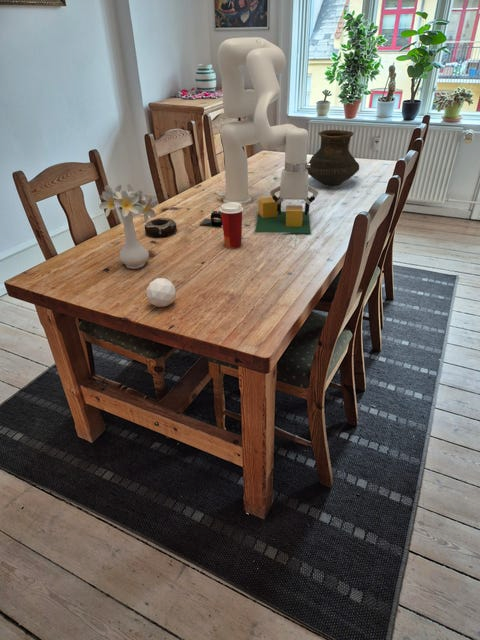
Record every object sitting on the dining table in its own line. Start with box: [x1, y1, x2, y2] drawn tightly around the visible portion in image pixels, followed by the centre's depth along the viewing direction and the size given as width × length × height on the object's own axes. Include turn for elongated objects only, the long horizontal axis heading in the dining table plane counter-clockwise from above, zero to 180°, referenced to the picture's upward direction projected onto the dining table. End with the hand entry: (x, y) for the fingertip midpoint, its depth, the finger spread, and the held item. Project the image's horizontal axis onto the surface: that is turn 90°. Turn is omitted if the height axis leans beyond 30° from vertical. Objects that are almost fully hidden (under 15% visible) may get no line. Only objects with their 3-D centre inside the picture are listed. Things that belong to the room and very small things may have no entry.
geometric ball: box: [146, 277, 177, 308], centre depth 119 cm, size 8×8×8 cm
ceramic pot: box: [307, 129, 360, 187], centre depth 202 cm, size 24×24×22 cm
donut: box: [144, 217, 177, 238], centre depth 163 cm, size 12×12×4 cm
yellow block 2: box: [285, 204, 304, 227], centre depth 164 cm, size 6×6×6 cm
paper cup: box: [219, 202, 244, 249], centre depth 149 cm, size 8×8×14 cm
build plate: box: [198, 210, 223, 229], centre depth 169 cm, size 12×7×5 cm, turn 74°
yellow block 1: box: [257, 196, 278, 218], centre depth 173 cm, size 6×6×6 cm
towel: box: [254, 211, 312, 235], centre depth 168 cm, size 20×22×1 cm
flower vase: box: [98, 183, 159, 270], centre depth 135 cm, size 13×18×25 cm
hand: (292, 213), depth 164 cm, fingers open, 9 cm apart
